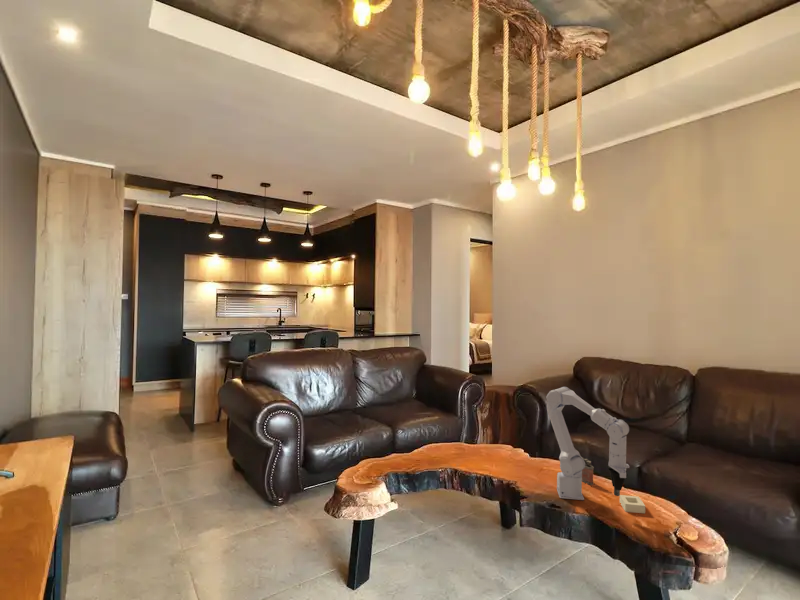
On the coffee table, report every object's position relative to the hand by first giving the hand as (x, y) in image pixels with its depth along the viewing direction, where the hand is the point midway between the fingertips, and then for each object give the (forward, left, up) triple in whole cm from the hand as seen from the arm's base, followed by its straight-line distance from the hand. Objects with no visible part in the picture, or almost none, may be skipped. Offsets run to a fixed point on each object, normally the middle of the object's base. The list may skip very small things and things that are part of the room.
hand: (616, 488), depth 161 cm
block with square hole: (+7, +6, -10) cm, 13 cm away
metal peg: (0, 0, -3) cm, 3 cm away
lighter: (-6, +26, -10) cm, 28 cm away
